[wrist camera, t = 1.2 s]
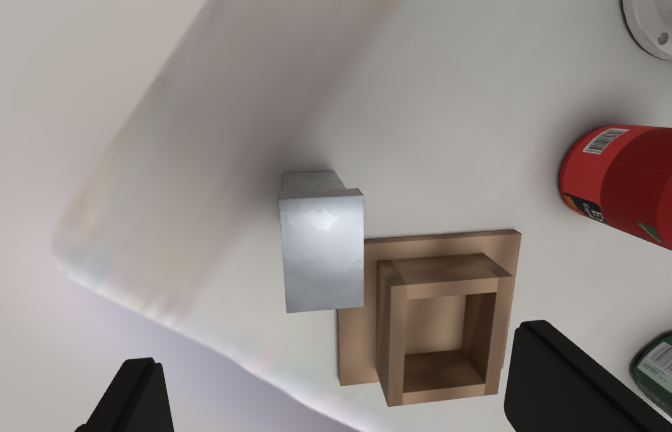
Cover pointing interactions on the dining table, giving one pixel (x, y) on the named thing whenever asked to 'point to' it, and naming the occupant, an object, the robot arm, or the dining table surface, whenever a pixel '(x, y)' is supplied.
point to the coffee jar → (657, 373)
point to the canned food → (623, 180)
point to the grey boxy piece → (321, 242)
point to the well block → (431, 316)
